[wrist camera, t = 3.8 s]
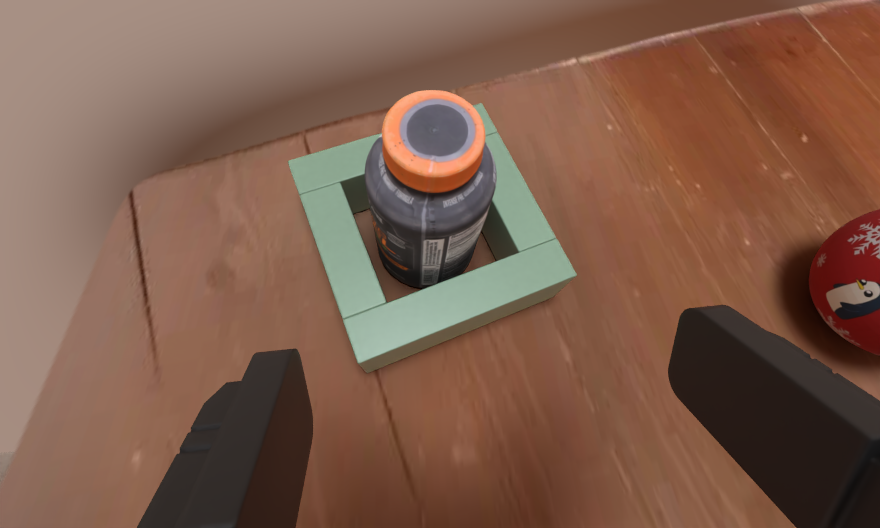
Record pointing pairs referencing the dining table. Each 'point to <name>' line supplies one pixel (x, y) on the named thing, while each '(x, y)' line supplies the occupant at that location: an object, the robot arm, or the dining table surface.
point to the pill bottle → (429, 186)
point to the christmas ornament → (850, 281)
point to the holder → (444, 304)
